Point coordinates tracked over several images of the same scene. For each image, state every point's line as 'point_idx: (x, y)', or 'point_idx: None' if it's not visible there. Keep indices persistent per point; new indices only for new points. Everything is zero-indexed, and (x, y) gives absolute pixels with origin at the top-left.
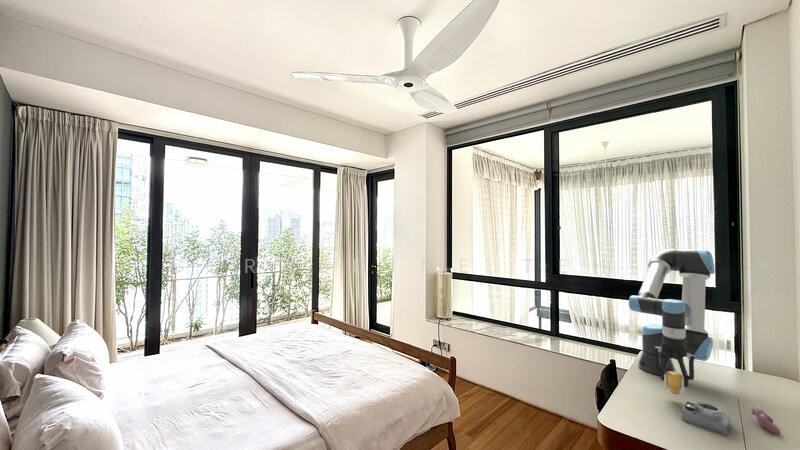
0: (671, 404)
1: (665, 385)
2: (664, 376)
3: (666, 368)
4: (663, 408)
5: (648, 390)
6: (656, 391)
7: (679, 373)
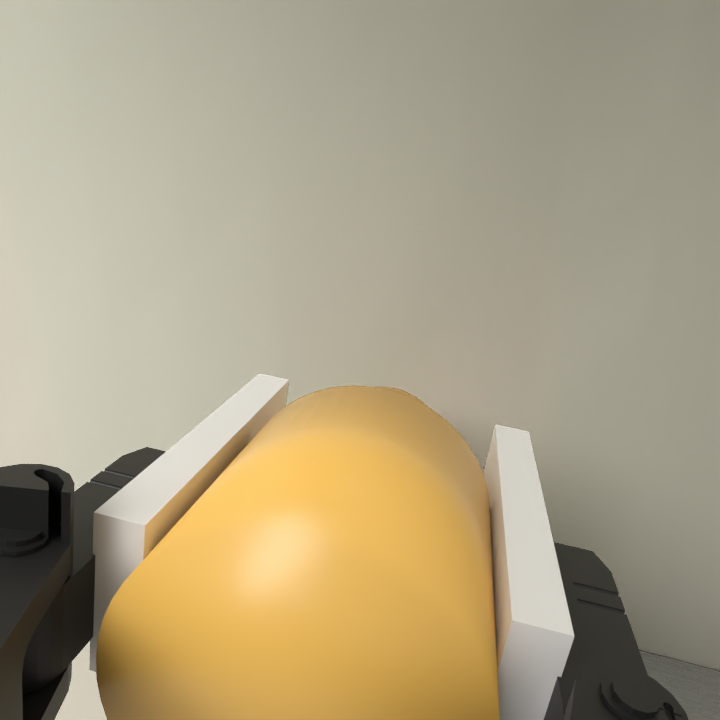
0: None
1: None
2: None
3: (8, 668)
4: None
5: (112, 290)
6: (192, 247)
7: (426, 601)
